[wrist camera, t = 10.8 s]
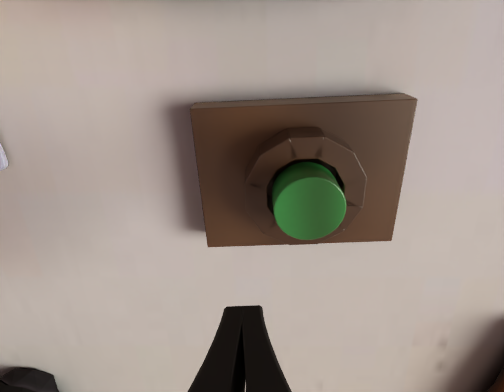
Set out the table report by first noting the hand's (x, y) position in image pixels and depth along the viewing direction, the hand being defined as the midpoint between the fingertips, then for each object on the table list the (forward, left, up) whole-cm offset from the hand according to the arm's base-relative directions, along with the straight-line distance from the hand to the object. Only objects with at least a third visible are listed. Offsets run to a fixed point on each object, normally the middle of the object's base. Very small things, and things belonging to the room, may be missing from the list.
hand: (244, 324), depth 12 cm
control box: (+3, +2, -10) cm, 11 cm away
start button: (+3, +2, -7) cm, 8 cm away
